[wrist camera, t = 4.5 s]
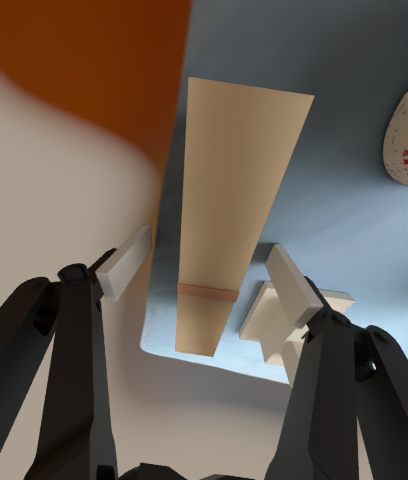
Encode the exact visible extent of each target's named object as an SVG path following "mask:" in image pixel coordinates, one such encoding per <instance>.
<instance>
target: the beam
mask: <svg viewBox="0 0 408 480" xmlns="http://www.w3.org/2000/svg"><path fill="white" fill-rule="evenodd" d="M313 99H314V96H313V95H306V94H300V93H293V92H287V91H280V90H273V89H267V88H260V87H253V86H247V85H240V84H234V83H227V82H220V81H214V80H207V79H200V78H194V77H189V80H188V100H187V120H186V141H185V161H184V182H183V202H182V222H181V243H180V263H179V280H178V284H177V294H178V304H177V324H176V345H175V351H177V352H183V353H190V354H196V355H203V356H210V357H213V356H214V353H215V351H216V348H217V345H218V343H219V340H220V338H221V335H222V333H223V330H224V327H225V325H226V322H227V320H228V317H229V315H230V312H231V309H232V307H233V304H234V302H235V303H236V300H237V298H238V295H239V289H240V286H241V284H242V281H243V279H244V276H245V274H246V271H247V268H248V266H249V263H250V261H251V258H252V256H253V253H254V250H255V248H256V245H257V243H258V240H259V238H260V235H261V232H262V230H263V227H264V225H265V222H266V220H267V217H268V214H269V212H270V209H271V207H272V204H273V202H274V199H275V196H276V194H277V191H278V189H279V186H280V184H281V181H282V178H283V176H284V173H285V171H286V168H287V166H288V163H289V160H290V158H291V155H292V153H293V150H294V148H295V145H296V143H297V140H298V137H299V135H300V132H301V130H302V127H303V125H304V122H305V119H306V117H307V114H308V112H309V109H310V107H311V104H312V101H313Z"/></svg>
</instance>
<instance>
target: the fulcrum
mask: <svg viewBox="0 0 408 480" xmlns="http://www.w3.org/2000/svg"><path fill="white" fill-rule="evenodd" d="M318 290H319V291H320V293H321V294H322V295H323V297H324V298H325V299H326V301H327V302H328V303H329V305H330V306H331V308H332V309H333V310H336V311H338V312H340V313H341V314H342V313H343V312H344V311H345V310H347V309H348V308H349V307H350V306H351V305H352V304H353V303H354V302H355V300H354V299H353V298H352V297H351V296H350V295H349V294H347V293H340V292H334V291H327V290H320V289H318ZM308 330H309V329H308V327H307V325H305V326H304V327H303V328H302V329H297V328H291V326H290V324H289V322H288V319H287V317H286V314H285V312H284V310H283V307H282V305H281V302H280V300H279V298H278V295H277V293H276V290H275V288H274V286H273V283H272V282H267V281H264V283H263V285H262V287H261V289H260V291H259V293H258V295H257V297H256V299H255V301H254V303H253V305H252V307H251V309H250V311H249V313H248V315H247V317H246V319H245V321H244V323H243V325H242V327H241V329H240V331H239V339H242V340H249V341H256V342H260V344H261V348H262V353H263V357H264V362H265V363H266V364H273V365H280V366H284V367H285V370H286V373H287V377H288V380H289V383H290V386H291V388H292V387H293V383H294V379H295V375H296V371H297V367H298V363H299V359H300V355H301V351H302V347H303V343H304V339H305V338H304V339H303V340H302V339H301V337H302V336H303V335H304V334H305V333H306V332H307V331H308Z"/></svg>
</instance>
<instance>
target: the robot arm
mask: <svg viewBox="0 0 408 480" xmlns="http://www.w3.org/2000/svg"><path fill="white" fill-rule="evenodd" d="M151 249H152V237H151V226H150V225H145V224H143V225H142V226H141V227H140V228H139V229H138V230H137V231H136V232H134V233H133V234H132V236H130V237H129V238H128V239H127V241H125V242H124V243H123V244H122V245H121V246H120V247H119V249H115V248H113V249H111V250H109V251H107V252H106V253H105V254H104V255H103V256H102V257H100V258H99V259H98V260H97V261H96V262H95V263H94V264H93V265H92V266H91V267H89V268H88V269H87V267H86V265H84V264H81V263H77V264H71V265H68V266H66V267H64V268H63V269H61V270H60V271H59V272H58V274H57V275H58V277H59V278H60V281H59V282H50V281H49V279H48V278H46V277H36V278H32V279H30V280H27V281H25V282H24V283H22V284H21V285H19V286H18V287H17V288H16V289H15V290H14V292H13V293H12V294H11V295H10V296H9V297H8V299H7V300H6V301H5V302H4V303H3V305H2V306H1V307H0V452H1V450H2V448H3V445H4V443H5V441H6V439H7V437H8V435H9V432H10V430H11V428H12V426H13V424H14V421H15V419H16V417H17V415H18V412H19V410H20V408H21V406H22V404H23V401H24V399H25V397H26V395H27V393H28V390H29V388H30V386H31V384H32V382H33V379H34V377H35V375H36V373H37V371H38V368H39V366H40V364H41V362H42V360H43V357H44V355H45V353H46V350H47V348H48V346H49V344H50V342H51V340H52V337H53V335H54V333H55V338H54V344H53V351H52V357H51V364H50V370H49V376H48V383H47V389H46V395H45V402H44V408H43V415H42V421H41V427H40V434H39V440H38V447H37V452H36V457H35V459H34V462H33V464H32V466H31V467H30V469H29V470H28V472H27V473H26V475H25V477H24V480H187V479H185V478H184V477H182V476H181V475H180V474H178V473H177V472H175V471H174V470H173V469H171V468H170V467H168V466H161V465H154V464H147V463H140V466H138V467H135V468H133V469H131V470H129V471H128V472H126V473H124V474H123V475H122V476H120V477H119V478H118V469H117V459H116V450H115V442H114V438H113V434H112V429H111V419H110V407H109V394H108V382H107V369H106V357H105V346H104V333H103V321H102V309H101V302H100V299H101V298H102V296H103V295H104V297H105V299H106V300H109V301H117V300H118V299H119V297H120V296H121V294H122V293H123V291H124V290H125V288H126V286H127V285H128V284H129V282H130V280H131V279H132V278H133V276H134V275H135V273H136V271H137V270H138V269H139V267H140V266H141V264H142V262H143V261H144V259H145V258H146V257H147V255H148V253H149V252H150V251H151ZM265 266H266V269H267V271H268V274H269V276H270V278H271V281H272V283H273V286H274V288H275V290H276V293H277V295H278V298H279V300H280V302H281V305H282V307H283V310H284V312H285V314H286V317H287V319H288V322H289V324H290V326H291V328H297V329H302V328H303V327H304V326H305V325H307V327H308V329H309V330H308V331H307V332H306V333H305V334H304V335H303V336H302V337H301V339H302V340H303V339H304V338H305V339H304V343H303V347H302V351H301V355H300V359H299V363H298V367H297V371H296V375H295V379H294V383H293V387H292V391H291V395H290V400H289V404H288V407H287V411H286V416H285V419H284V423H283V427H282V431H281V435H280V439H279V443H278V447H277V451H276V454H275V456H274V458H273V460H272V461H271V463H270V464H269V467H268V469H267V472H266V475H265V479H264V480H359V466H358V442H357V441H358V440H357V417H358V421H359V425H360V429H361V432H362V436H363V440H364V444H365V448H366V452H367V456H368V460H369V464H370V468H371V471H372V475H373V479H374V480H408V359H407V357H406V356H405V354H404V352H403V351H402V349H401V347H400V346H399V344H398V343H397V341H396V340H395V339H394V338H393V337H392V336H391V335H390V334H389V333H387V332H386V331H385V330H383V329H381V328H379V327H377V326H374V325H369V326H368V327H366V328H365V329H364V328H361V327H359V326H357V325H354V324H352V323H351V322H350V320H349V319H348V318H347V317H346V316H344V315H343V314H341V313H340V312H338V311H336V310H333V309H332V308H331V306H330V305H329V303H328V302H327V301H326V299H325V298H324V297H323V295H322V294H321V293H320V291H319V290H318V288H317V287H316V286H315V284H314V283H313V282H312V281H311V280H310V279H309V278H308V277H307V276H303V275H302V273H301V272H300V270H299V269H298V267H297V266H296V264H295V263H294V262H293V260H292V259H291V257H290V256H289V254H288V253H287V251H286V250H285V248H284V247H283V246H282V245H279V244H274V246H273V248H272V250H271V252H270V254H269V257H268V259H267V261H266V263H265ZM55 331H56V332H55ZM373 363H374V364H375V367H376V370H374V368H373V365H372V364H373ZM356 413H357V414H356ZM200 480H255V479H249V478H242V477H235V476H229V475H218V474H214V475H211V476H209V477H206V478H203V479H200Z"/></svg>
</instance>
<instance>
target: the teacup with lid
mask: <svg viewBox="0 0 408 480" xmlns="http://www.w3.org/2000/svg"><path fill="white" fill-rule="evenodd" d="M383 161H384V165H385V168H386V170H387V172H388V173H389V174H390V176H391V177H392V178H393V179H395V180H396V181H398V182H399V183H401V184H404V185H407V186H408V91H407V92H406V94H405V95H404V97H403V98H402V100H401V102H400V103H399V105H398V107H397V109H396V110H395V112H394V114H393V116H392V119H391V121H390V123H389V126H388V128H387V131H386V135H385V139H384V144H383Z"/></svg>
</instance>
